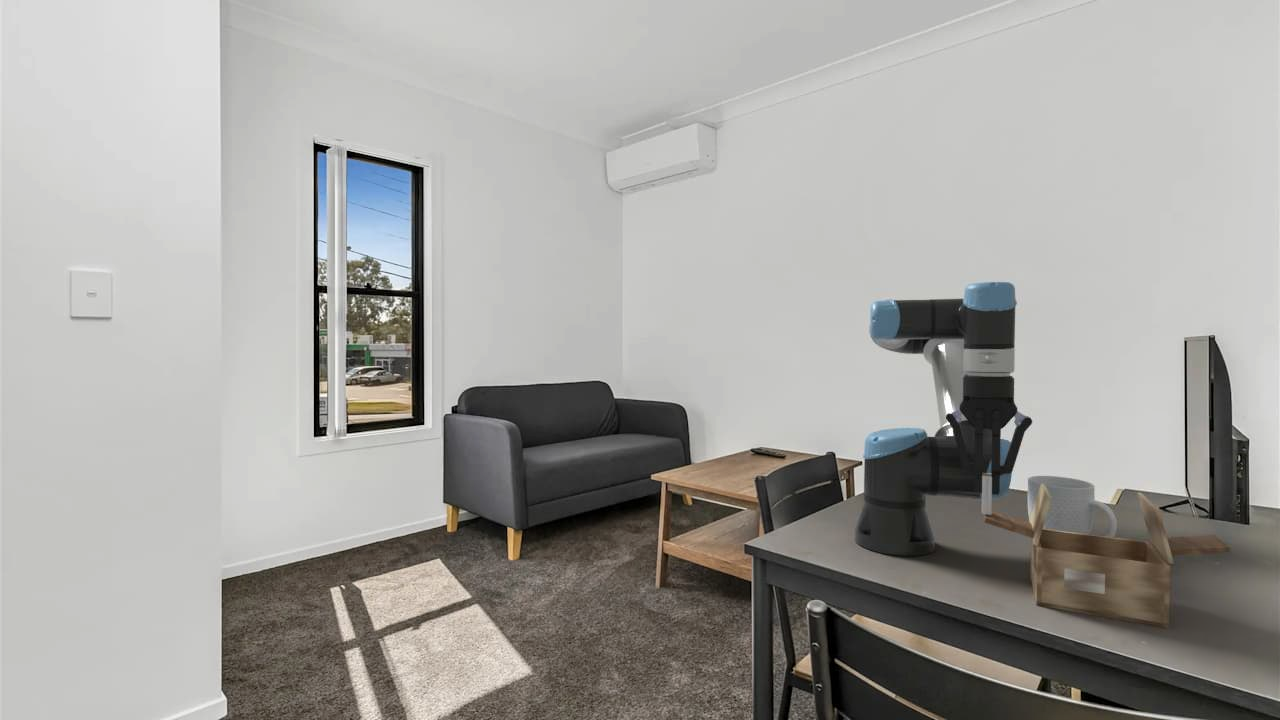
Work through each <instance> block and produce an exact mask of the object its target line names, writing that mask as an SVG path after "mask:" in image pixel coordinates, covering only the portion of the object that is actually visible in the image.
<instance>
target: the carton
mask: <svg viewBox="0 0 1280 720" xmlns="http://www.w3.org/2000/svg"><path fill="white" fill-rule="evenodd" d="M1029 578H1030V582H1031V587H1032V591H1033V595H1034V600H1035V604H1036V606H1040V607H1046V608H1051V609H1058V610H1061V611H1062V610H1063V611H1068V612H1074V613H1079V614H1085V615H1090V616H1091V615H1092V616H1097V617H1103V618H1109V619H1113V620H1119V621H1126V622H1130V623H1136V624H1142V625H1147V626H1148V625H1149V626H1153V627H1160V628H1165V629H1170V599H1171V597H1170V596H1171V595H1170V593H1171V565H1170V564H1169V562H1168V561H1167V560H1166V559H1165V558H1164V557H1163V555H1162V554H1161V553H1160V552H1159V551H1158V549H1157V548H1156V547H1155V546H1154V545H1153V544H1152V542H1151V541H1145V540H1144V541H1143V540H1138V539H1137V540H1136V539H1131V538H1130V539H1128V538H1121V537H1120V538H1119V537H1115V536H1114V537H1106V535H1104V536H1103V535H1097V534H1082V533H1074V532H1065V531H1057V530H1049V529H1042V532H1041V536H1040V539H1039V542H1038V545H1034V544H1033V540H1032V538H1031V537H1030V577H1029Z"/></svg>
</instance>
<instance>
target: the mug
mask: <svg viewBox="0 0 1280 720" xmlns="http://www.w3.org/2000/svg"><path fill="white" fill-rule="evenodd" d="M1041 483H1043V484H1045V486H1046V488H1047V490H1048V492H1049V495H1050V497H1051V499H1052V500H1051V503H1050V506H1049V509H1048V513H1047V516H1046V519H1045V522H1044V526H1043V529H1049V530H1057V531H1065V532H1074V533H1082V534H1090V533H1091V530H1092V527H1093V521H1094V515H1095V507H1096V508H1099V509H1101V510H1102V511H1103V512H1104V513H1105V514H1106V517H1107V520H1108V523H1109V528H1108V531H1107V533H1106V534H1105V536H1106V537H1114V538H1115V535H1116V532H1117V526H1118V525H1117V524H1118V523H1117V518H1116V516H1115V513H1114V512H1113V510H1112V509H1111V507H1109V506H1108V505H1107V504H1106V503H1104V502H1101V501H1099V500H1096V499H1095V484H1093V483H1092V482H1089V481H1086V480H1081V479H1077V478H1072V477H1063V476H1057V475H1056V476H1055V475H1054V476H1053V475H1033V476H1029V477H1028V478H1027V502H1026V503H1027V511H1028V512H1027V514H1028V520H1029V521H1030V518H1031V515H1032V511H1033V508H1034V505H1035V502H1036V498H1037V495H1038V492H1039V488H1040V485H1041ZM1029 521H1028V522H1029ZM1090 535H1091V534H1090Z"/></svg>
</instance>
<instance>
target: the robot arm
mask: <svg viewBox="0 0 1280 720" xmlns="http://www.w3.org/2000/svg"><path fill="white" fill-rule="evenodd" d="M1015 287H1016V286H1015V285H1014V284H1013V283H1011V282H1007V281H986V282H975V283H970V284H968V285H966V286H965V288H964V295H963V296H964V297H963V298H937V299H932V298H931V299H897V300H896V299H886V300H875V301H873V302H872V303H871V305H870V317H869V319H870V323H869V334H870V338H871V341H873V342H874V344H875V345H876V346H878V347H879V348H882V349H884V350H887V351H891V352H892V353H893V352H894V353H899V354H908V355H909V354H910V355H923V357H924V359H925V361H926V362H927V363H928V364H930V365H931V366H932V374H933V382H934V389H935V395H936V402H937V411H938V418H939V426H940V427H939V428H938V429H937V431H936V432H935V433H934V436H928V432H927V430H925V428H919V427H900V428H899V427H897V428H888V429H882V430H877V431H874V432H871V433H870V434H868V435H867V436H866V437H865V440H864V452H863V455H862V458H863V459H864V462H863V463H864V467H863V468H864V469H863V470H864V472H863V476H864V477H863V505H862V507H861V510H860V513H859V515H858V518H857V520H856V523H855V527H854V542H856V543H857V544H858V545H859V546H861V547H862V548H865V549H868V550H871V551H874V552H877V553H881V554H887V555H894V556H905V557H906V556H909V557H912V556H915V557H917V556H924V555H927V554H928V555H929V554H930V553H932V552H934V551H935V549H936V537H935V535H934V531H933V527H932V525H931V521H930V518H929V516H928V513H927V509H926V508H927V507H926V500H927V499H926V498H927V497H926V496H933V497H935V496H936V497H947V498H959V499H960V498H963V499H973V500H975V499H976V500H979V501H981V515H984V514H987V515H991V511H992V507H993V506H992V501H993V500H995V501H996V500H1002V499H1004V498H1006V496H1007V494H1008V493H1009V490H1010V486H1011V483H1012V482H1011V481H1012V474H1013V471H1014V468H1015V464H1016V461H1017V458H1018V455H1019V451H1020V448H1021V445H1022V442H1023V439H1024V436H1025V433H1026V431H1027V430H1028V429H1029V428H1030V426H1032V425H1033V419H1032V418H1031V416H1029V415H1028V416H1027V415H1025V414H1023V413H1022V412H1021V411H1019V410H1018V406H1017V405H1016V403H1015V378H1014V377H1013V376H1012V375H1011V374H1013V373H1014V372H1015V359H1016V358H1015V355H1016V354H1015V352H1016V351H1015V340H1016V339H1015V338H1016V336H1015V335H1016V306H1017V305H1018V303H1017V300H1016V288H1015ZM1013 418H1014V425H1015V429H1014V432H1013V435H1012V439H1011V441H1010V440H1008V439H1004V438H1001V437H1002V436H1001V435H1002V434H1001V433H1002V431H1001V430H1002V429H1003V428H1005V427H1006V426H1007V425H1008V424H1009V422H1010V421H1011V420H1012V419H1013Z"/></svg>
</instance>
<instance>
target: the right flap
mask: <svg viewBox="0 0 1280 720" xmlns="http://www.w3.org/2000/svg"><path fill="white" fill-rule="evenodd" d="M1137 497H1138V501H1139V504H1140V508H1141V511H1142V516H1143V519H1144V523H1145V527H1146V530H1147V535H1148V537H1149V542H1150V543H1151V544H1152V546H1153V547H1154V548H1155V549H1156V550H1157V551H1158V553H1159V554H1160V555H1161V556H1162V557H1163V559H1164V560H1165V561H1166V562H1167V563H1168V564H1169V565H1170V564H1175V563H1174V559H1173V556H1191V555H1210V554H1214V555H1216V554H1230V553H1232V551H1231V547H1230V546H1229V545H1227V543H1226V542H1224V541H1223V540H1222V539H1220V538H1219V537H1218V536H1217V535H1216V534H1210V535H1209V534H1208V535H1194V536H1193V535H1191V536H1190V535H1189V536H1177V537H1173V536H1172V537H1168V536H1167V533H1166V530H1165V525H1164V522H1163V518H1162V515H1161V512H1160V509H1159V508H1158V507H1157V506H1156V505H1155V504H1154V503H1153V502H1152V501H1151V500H1150V499H1149V498H1147V496H1146V495H1144V493H1142V492H1137Z"/></svg>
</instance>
